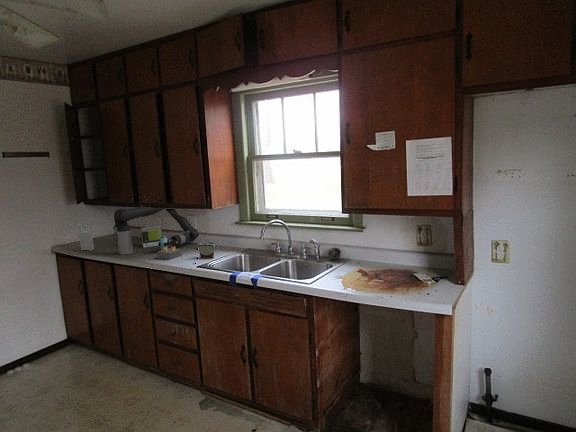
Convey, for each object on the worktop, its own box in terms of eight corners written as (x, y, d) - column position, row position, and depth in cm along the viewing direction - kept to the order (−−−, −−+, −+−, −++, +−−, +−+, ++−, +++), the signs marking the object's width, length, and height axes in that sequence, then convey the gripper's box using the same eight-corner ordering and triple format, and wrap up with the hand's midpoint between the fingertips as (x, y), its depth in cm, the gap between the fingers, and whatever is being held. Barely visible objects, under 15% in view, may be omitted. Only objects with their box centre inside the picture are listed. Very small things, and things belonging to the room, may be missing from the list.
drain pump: (159, 252, 288) (158, 236, 286) (165, 251, 292) (163, 235, 290) (165, 253, 286) (163, 237, 284) (169, 251, 290) (168, 235, 288)
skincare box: (94, 248, 314) (92, 230, 312) (91, 250, 308) (89, 232, 306) (83, 249, 313) (80, 231, 310) (80, 251, 307) (77, 232, 305)
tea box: (161, 243, 323) (159, 225, 321) (163, 245, 314) (161, 227, 312) (142, 245, 317) (140, 227, 315) (143, 248, 308) (141, 229, 306)
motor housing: (157, 258, 270) (156, 249, 270) (170, 254, 281) (169, 245, 280) (169, 259, 265) (168, 250, 264) (181, 255, 276) (181, 246, 275)
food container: (219, 256, 268) (217, 242, 266) (215, 258, 262) (213, 244, 261) (202, 256, 271) (201, 242, 270) (198, 258, 265) (197, 243, 264)
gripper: (170, 234, 303) (153, 238, 288) (184, 235, 296) (168, 239, 282) (171, 243, 304) (154, 248, 290) (185, 245, 297) (169, 250, 283)
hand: (161, 244), depth 286 cm, fingers closed on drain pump, 5 cm apart
